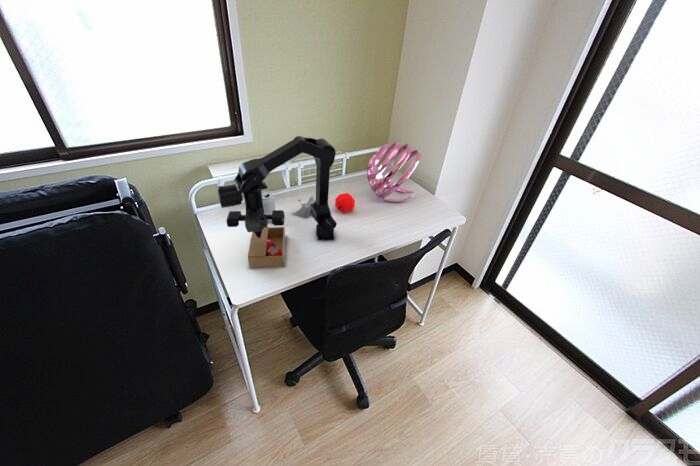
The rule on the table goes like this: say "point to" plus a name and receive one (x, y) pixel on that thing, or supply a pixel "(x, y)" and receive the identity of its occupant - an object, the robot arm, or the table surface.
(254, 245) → the flap
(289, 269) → the table surface
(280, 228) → the carton
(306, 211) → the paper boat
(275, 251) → the race car
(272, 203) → the can
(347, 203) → the ball
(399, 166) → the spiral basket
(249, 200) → the robot arm
